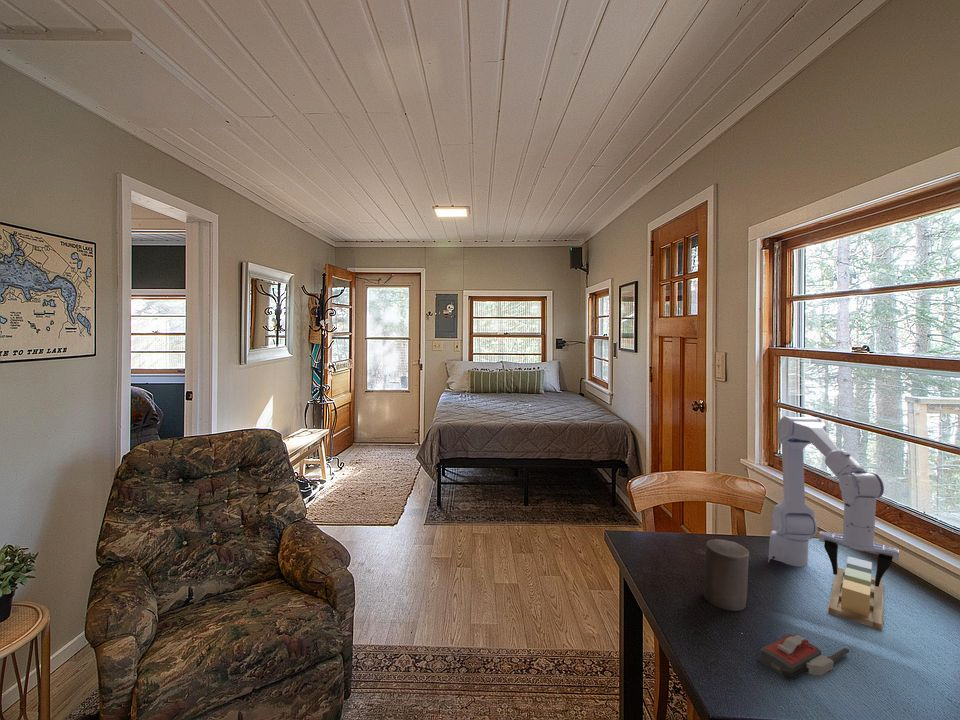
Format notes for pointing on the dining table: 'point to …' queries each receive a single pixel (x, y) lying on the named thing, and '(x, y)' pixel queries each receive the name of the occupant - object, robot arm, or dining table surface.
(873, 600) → the slot board
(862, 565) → the blue-grey block
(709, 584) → the pillar candle
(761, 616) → the dining table surface
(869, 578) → the sage block
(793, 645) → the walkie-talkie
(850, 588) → the ochre block
